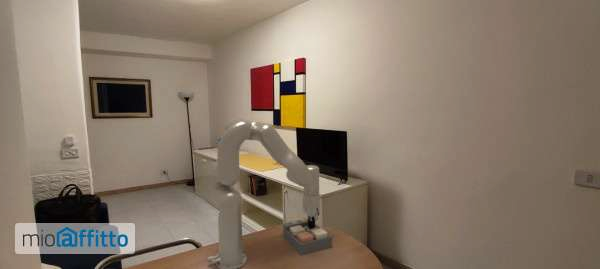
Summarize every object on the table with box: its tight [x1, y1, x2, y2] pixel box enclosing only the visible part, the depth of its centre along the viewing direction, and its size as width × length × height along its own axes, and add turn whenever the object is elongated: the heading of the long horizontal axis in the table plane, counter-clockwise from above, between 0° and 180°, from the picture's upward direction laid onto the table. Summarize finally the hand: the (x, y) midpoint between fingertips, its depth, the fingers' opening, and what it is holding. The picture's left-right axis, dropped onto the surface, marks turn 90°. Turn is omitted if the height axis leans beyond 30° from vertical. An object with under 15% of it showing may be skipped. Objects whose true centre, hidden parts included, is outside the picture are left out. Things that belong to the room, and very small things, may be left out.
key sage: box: [304, 226, 319, 234], centre depth 139 cm, size 6×6×2 cm
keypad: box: [282, 217, 333, 256], centre depth 136 cm, size 16×19×7 cm
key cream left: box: [290, 225, 305, 236], centre depth 136 cm, size 6×6×2 cm
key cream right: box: [311, 227, 328, 239], centre depth 132 cm, size 6×6×2 cm
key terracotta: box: [297, 231, 313, 243], centre depth 129 cm, size 6×6×2 cm
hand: (311, 227), depth 139 cm, fingers closed
